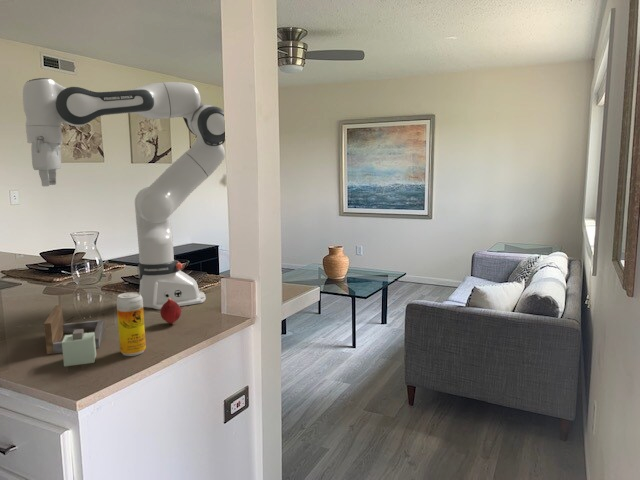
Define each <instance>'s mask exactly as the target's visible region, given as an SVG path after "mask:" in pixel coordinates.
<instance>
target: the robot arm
mask: <svg viewBox="0 0 640 480" xmlns="http://www.w3.org/2000/svg"><path fill="white" fill-rule="evenodd" d="M201 99H202V98H201V93H200V92H199V90H198V88H197V86H195V85H194V84H192V83H190V82H183V81H181V82H179V81H164V82H154V83H149V84H145V85H141V86H138V87H136V88H132V89H128V90H116V91H114V90H112V91H92V90H89V89H86V88H84V87H79V86H68V87H65V86H63V85H61V84H60V83H57V82H56V81H55V80H54V79H53V78H48V77H38V78H32V79H29V80H27V81H26V82H25V83H24V85H23V88H22V105H23V112H24V114H25V117H26V120H25V132H26V140H27V143H28V144H31V148H30V149H31V163H32V165H31V166H32V169H33V170H34V171H38V175H39V178H40V180H41V181H40V182H41V186H42V187H49V186H53V185H54V186H55V185H57V175H58V172H57V170H59V169H61V166H62V145H63V143H64V142H63V136H62V124H65V125H69V126H71V127H83V126H85V125H87V124H89V123H90V122H92V121H93V120H95V119H97V118H99V117H102V116H110V115H121V114H137V115H138V116H139V115H140V116H141V117H144V118H146V119H150V120H152V119H153V120H154V119H155V120H165V119H166V120H167V119H172V118H182V119H183V121H184V123H185V125H186V127H187V129H188V130H189V132H190V133H191V134H193V135H194V136H196V139H195V141H194V144H193V145H192V146H191V147H190V148H189V149H188V150H186V151H185V152H184V153H183V154H182V155H181V156H179V158H177V159H176V160H175V161H174V162H172V163H171V164H170V165H169V166H168V168H166V169H165V170H164V171H163V172H162V174H161V175H160V176H159V177H157V178H156V179H155V180H154V182H152V183H151V184H150V186H146V187H143V188H142V189H140V190H139V191H138V192H137V194H136V195H135V197H134V198H135V199H134V211H135V223H136V231H137V243H138V244H137V245H138V246H137V247H138V256H139V258H138V259H139V262H138V265H137V268H138V270H137V272H138V277H139V292H138V293H140V294H141V296H142V298H143V308H150V309H155V310H161V308H162V306H163V305H164V304H165V303H166V302H167V301H168V298H171V299H172V300H173V301H175V302H176V303H177V304H178V305H179V306H180V307H182V306H189V305H197V304H202V303H204V302H206V298H207V297H206V294H205V293H204V291H201V290H200V289H199V285H198V283H197V281H196V280H195V278H193V277H192V276H190V275H189V274H187V273H185V272H184V271H182V268H183V264H182V263H181V261H179V260H176V259H174V258H175V256H174V242H173V241H174V240H173V231H172V223H171V216H172V215H173V213H175V211H176V210H177V209H178V208H179V207H180V206H181V205H182V204H183V202H185V200H186V199H187V198H188V197H189V196H190V195H191V193H193V192H194V191H195V190H196V189H197V188H199V186H200V185H202V184H203V182H204V181H206V180H207V179H208V178H209V177H210V176H211V175H212V174H213V173H214V172H215V171H216V170H217V169H218V167H219V166H221V164H222V162H223V161H224V160H225V158H226V150H225V148H224V145H223V144H224V143H225V142H226V139H225V120H224V111H225V110H223V109H222V108H221V107H218V106H214V105H209V104H205V103H204V102H202V100H201Z"/></svg>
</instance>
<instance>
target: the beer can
mask: <svg viewBox="0 0 640 480" xmlns="http://www.w3.org/2000/svg"><path fill="white" fill-rule="evenodd" d="M115 301H116V313H117V326H118V327H117V328H118V339H119V352H120V353H122V355H123V356H125V357H135V356H139V355H141V354H143V353H144V351H145V350H146V348H147V344H146V343H147V342H146V332H145V327H146V326H145V317H144V316H145V314H144V307H143V298H142V296H141V294H140V293H139V292H136V291H131V292H128V291H127V292H124V293H119V294H118V295H117V298H116V300H115Z"/></svg>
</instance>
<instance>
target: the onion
mask: <svg viewBox="0 0 640 480" xmlns="http://www.w3.org/2000/svg"><path fill="white" fill-rule="evenodd" d="M181 315H182V308H181V306H179V305H178V304H177V303H176V302H175V301H173V300H172V299H171V298H168V301H167V302H166V303H165V304H164V305H163V306H162V308H161V309H160V317H161V318H162V320H163V321H165V322H166V323H168V324H169V325H172V324H175V323H176V322H177V321H178V320H179V319H180V317H181Z"/></svg>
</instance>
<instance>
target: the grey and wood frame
mask: <svg viewBox="0 0 640 480" xmlns="http://www.w3.org/2000/svg"><path fill="white" fill-rule="evenodd" d="M43 327H44V337H45V338H44V339H45V347H46V354H47V355H52V354H58V353H59V354H61V353H63V350H62V341H61V340H62V338H63V336H64V334H73V332H74V330H77V329H83V330H84V332H89V331H90V332H94V334H95V345H96V349H100V347H101V343H102V339H103V335H104V332H105V319H98V320H97V319H96V320H87V321H79V322H70V323H64V315H63V305H61V304H60V305H59V304H58V305H55V306H54V308H52V311H51V312H50V314H49V315H48V316H47V318H46V320H45V322H43Z"/></svg>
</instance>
